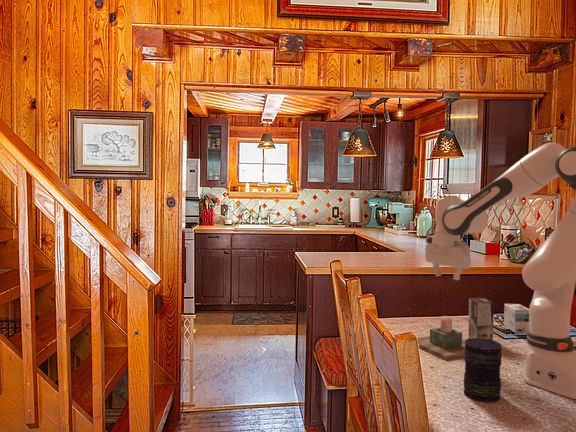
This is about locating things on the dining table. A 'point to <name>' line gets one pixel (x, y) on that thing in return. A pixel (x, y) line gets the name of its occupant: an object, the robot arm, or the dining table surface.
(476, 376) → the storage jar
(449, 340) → the holder
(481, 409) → the dining table surface
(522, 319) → the light bulb box
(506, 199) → the robot arm
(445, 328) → the peg
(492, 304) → the coffee box
